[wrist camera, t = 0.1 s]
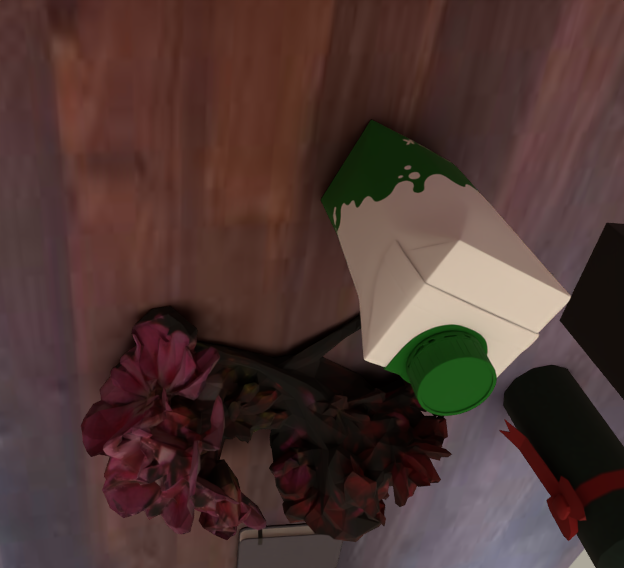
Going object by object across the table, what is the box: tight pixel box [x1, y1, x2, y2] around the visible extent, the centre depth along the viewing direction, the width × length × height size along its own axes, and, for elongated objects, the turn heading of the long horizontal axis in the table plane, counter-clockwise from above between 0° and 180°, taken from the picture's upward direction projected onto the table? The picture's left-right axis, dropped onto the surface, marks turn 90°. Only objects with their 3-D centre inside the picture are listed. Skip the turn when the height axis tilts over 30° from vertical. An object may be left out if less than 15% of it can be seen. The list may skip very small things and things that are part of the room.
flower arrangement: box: [81, 306, 452, 542], centre depth 46 cm, size 31×20×15 cm, turn 79°
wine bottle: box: [499, 365, 624, 568], centre depth 46 cm, size 8×10×30 cm
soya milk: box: [321, 120, 571, 416], centre depth 33 cm, size 9×9×20 cm
